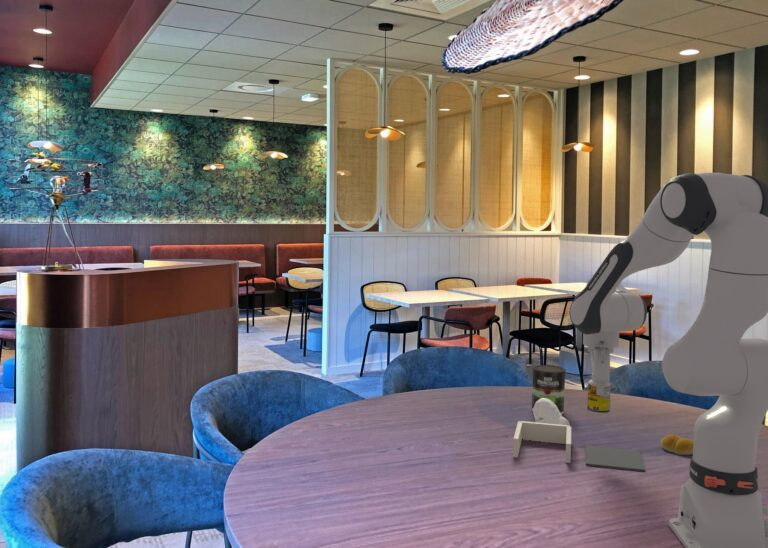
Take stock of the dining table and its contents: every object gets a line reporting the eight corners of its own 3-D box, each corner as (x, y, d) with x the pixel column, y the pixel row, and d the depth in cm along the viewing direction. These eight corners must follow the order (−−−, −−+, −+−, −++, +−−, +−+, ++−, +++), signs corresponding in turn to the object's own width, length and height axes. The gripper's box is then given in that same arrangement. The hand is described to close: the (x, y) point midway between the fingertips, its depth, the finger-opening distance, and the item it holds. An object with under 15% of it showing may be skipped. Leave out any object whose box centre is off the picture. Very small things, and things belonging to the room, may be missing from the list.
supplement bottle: (582, 410, 175) (584, 371, 174) (601, 409, 177) (602, 370, 176) (595, 416, 170) (597, 376, 169) (614, 414, 171) (615, 375, 171)
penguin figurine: (546, 394, 203) (577, 408, 193) (543, 421, 204) (574, 436, 194) (531, 397, 199) (562, 411, 190) (528, 424, 201) (559, 439, 191)
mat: (645, 471, 165) (645, 469, 165) (586, 465, 169) (586, 463, 169) (639, 452, 179) (639, 450, 178) (585, 447, 182) (585, 445, 182)
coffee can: (563, 417, 210) (565, 373, 208) (530, 414, 213) (531, 370, 211) (564, 408, 219) (566, 366, 218) (532, 405, 222) (533, 363, 221)
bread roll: (689, 458, 175) (690, 443, 175) (656, 449, 182) (656, 435, 182) (703, 451, 181) (703, 437, 180) (670, 442, 187) (671, 428, 187)
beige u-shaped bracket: (570, 463, 170) (571, 444, 170) (513, 457, 174) (513, 438, 174) (570, 443, 185) (571, 425, 185) (517, 438, 189) (518, 420, 189)
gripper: (616, 346, 161) (615, 402, 162) (611, 333, 181) (609, 383, 182) (589, 344, 163) (587, 400, 164) (586, 332, 182) (585, 382, 183)
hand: (599, 391), depth 173 cm, fingers closed on supplement bottle, 5 cm apart
